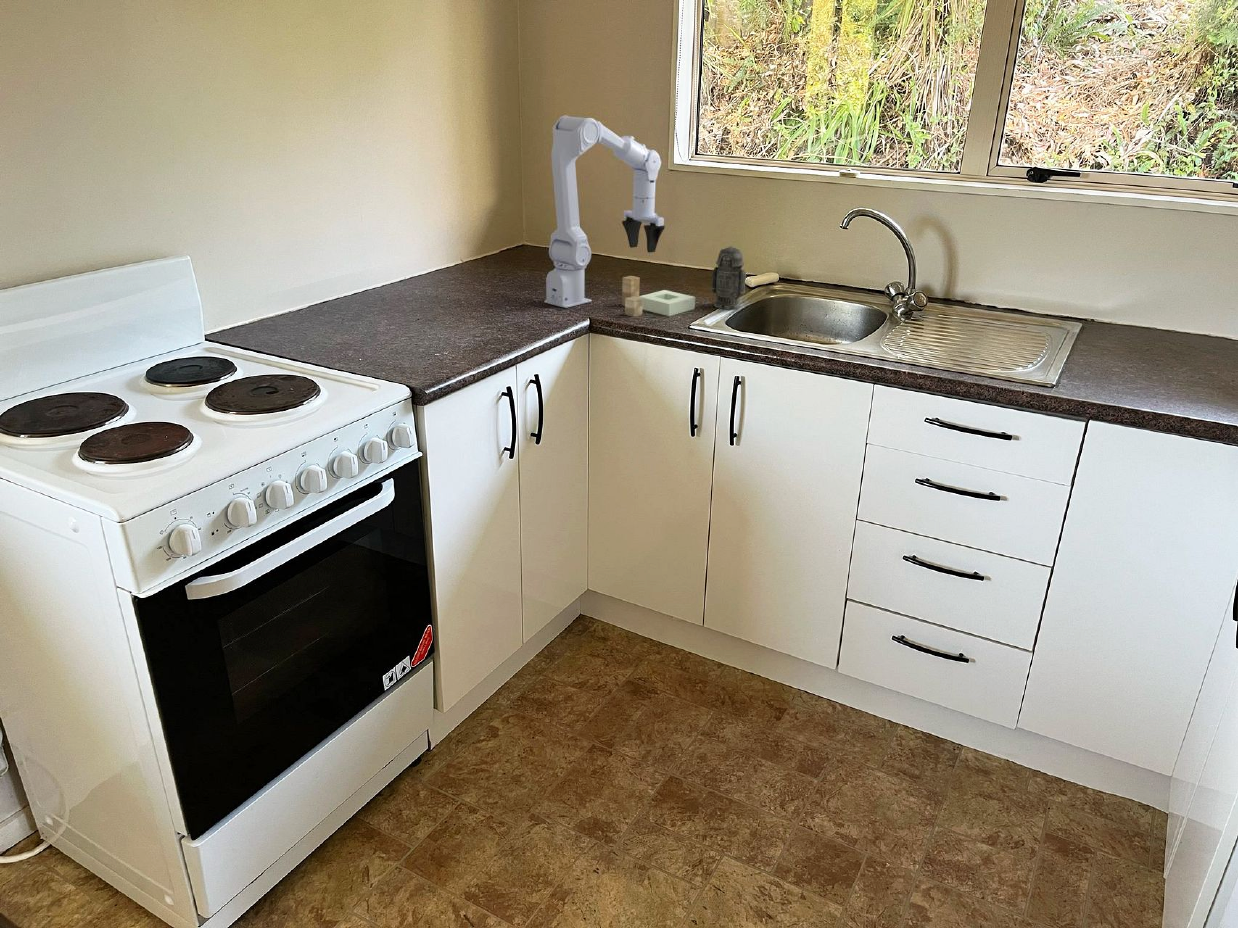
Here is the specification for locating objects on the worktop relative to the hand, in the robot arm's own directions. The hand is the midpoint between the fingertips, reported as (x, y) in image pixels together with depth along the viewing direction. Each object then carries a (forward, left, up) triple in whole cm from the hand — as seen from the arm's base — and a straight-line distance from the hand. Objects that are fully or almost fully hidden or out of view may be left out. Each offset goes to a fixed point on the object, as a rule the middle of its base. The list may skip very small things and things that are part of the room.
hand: (642, 249), depth 247 cm
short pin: (-23, -18, -10) cm, 31 cm away
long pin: (-17, -12, -10) cm, 23 cm away
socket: (-13, -20, -10) cm, 26 cm away
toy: (0, -29, -10) cm, 31 cm away
